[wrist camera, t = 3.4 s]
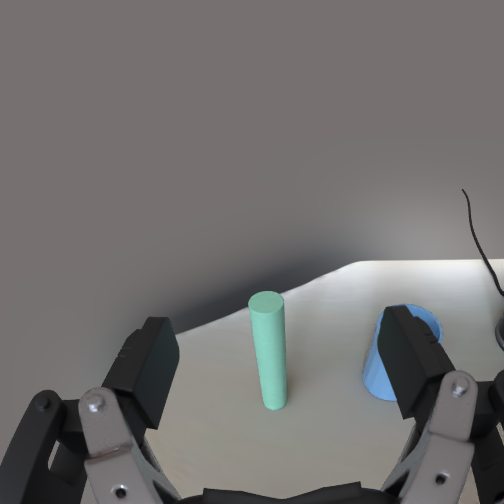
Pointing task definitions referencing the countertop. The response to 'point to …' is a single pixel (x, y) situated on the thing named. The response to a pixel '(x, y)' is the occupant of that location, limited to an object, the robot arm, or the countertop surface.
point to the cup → (374, 367)
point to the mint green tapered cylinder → (270, 346)
